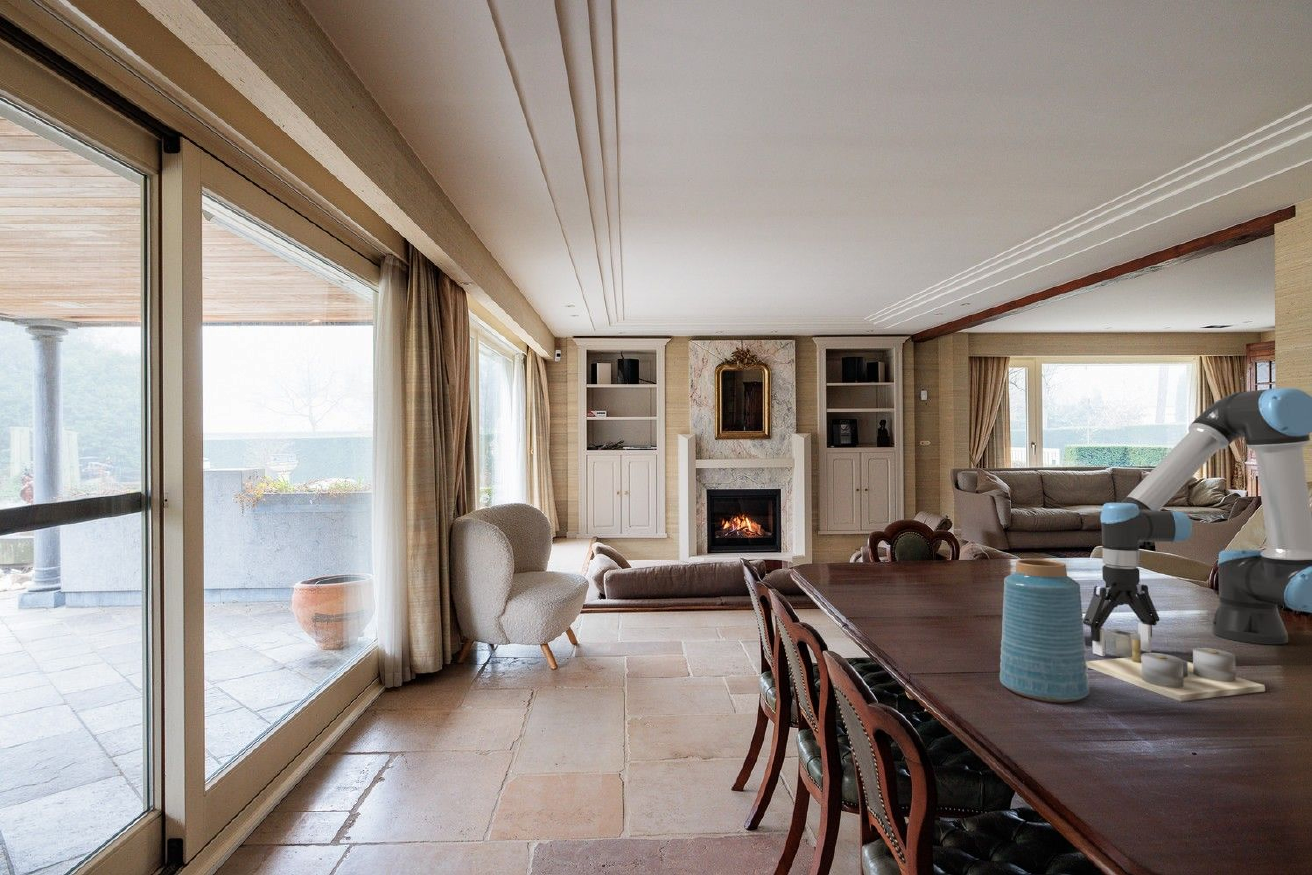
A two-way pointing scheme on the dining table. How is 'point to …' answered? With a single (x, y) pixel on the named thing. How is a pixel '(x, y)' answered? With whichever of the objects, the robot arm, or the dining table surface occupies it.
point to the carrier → (1179, 673)
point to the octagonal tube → (1120, 642)
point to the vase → (1043, 633)
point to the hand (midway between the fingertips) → (1121, 652)
